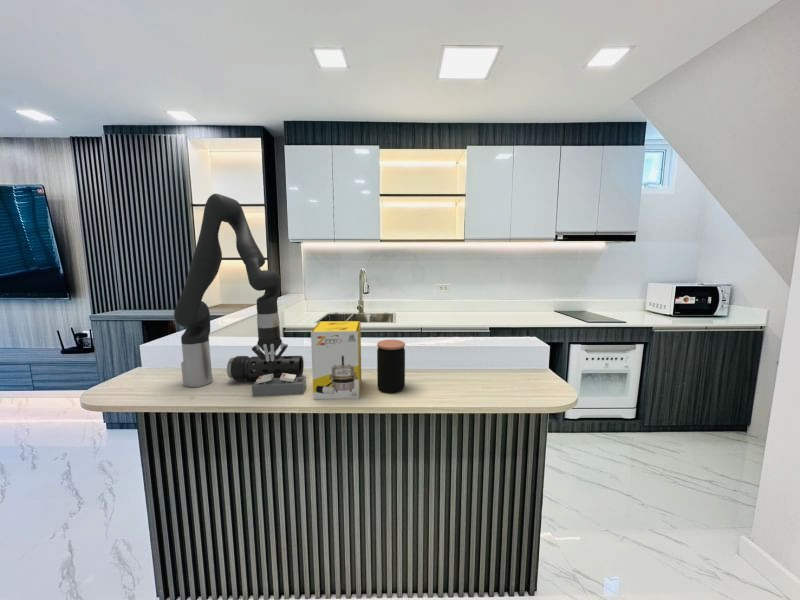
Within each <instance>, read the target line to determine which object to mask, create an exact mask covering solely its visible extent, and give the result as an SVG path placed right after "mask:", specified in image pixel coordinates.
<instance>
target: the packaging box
mask: <svg viewBox="0 0 800 600" xmlns="http://www.w3.org/2000/svg"><path fill="white" fill-rule="evenodd" d="M361 330H362V329H361V321H360V320H359V321H358V320H357V321H356V320H354V321H353V320H351V321H350V320H349V321H348V320H347V321H342V320H341V321H319V322H318V323H317V324H316V325H315V326H314V327H313V329H312V330H311V331H310V342H311V343H310V344H311V348H310V349H311V369H312V370H311V371H312V393H313V394H312V395H313V396H312V397H313V398H312V399H313V401H314V400H315V401H316V400H317V399H319V400H348V399H349V400H351V399H353V400H356V398H357V399H360V394H361V388H360V387H362V343H361V342H362V340H361V339H362V337H361V336H362V335H361V334H362V331H361Z"/></svg>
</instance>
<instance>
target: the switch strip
mask: <svg viewBox="0 0 800 600" xmlns="http://www.w3.org/2000/svg"><path fill="white" fill-rule="evenodd" d="M306 378H307V377H306V376H302V377H296V378H295V380H294V382H290V381H284V380H280V378H272V380H270V381H266V382H262V383H258V384H257V380H256V381H254V383H253V384H252V385H251V395H252V396H251V397H254V398H255V397H270V396H271V397H272V396H290V395H291V396H292V395H293V396H294V395H304V393H305V390H306V387H307V379H306Z"/></svg>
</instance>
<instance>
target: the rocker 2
mask: <svg viewBox="0 0 800 600" xmlns="http://www.w3.org/2000/svg"><path fill="white" fill-rule="evenodd" d="M295 378H296V375H293V374H287V373H283V374H282V375H281V377H280V380H284V381H290V382H294V380H295Z"/></svg>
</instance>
